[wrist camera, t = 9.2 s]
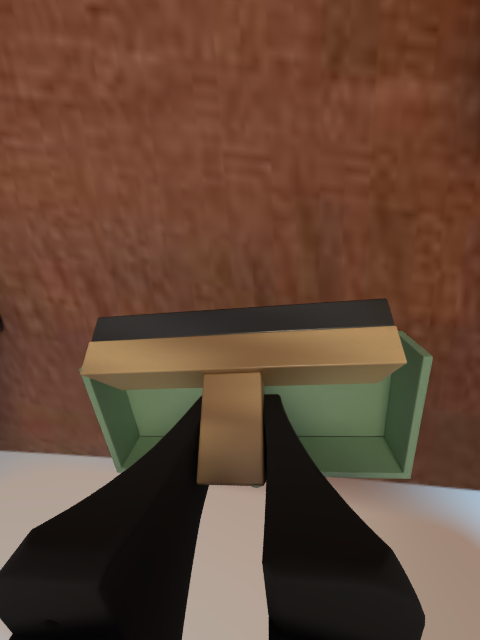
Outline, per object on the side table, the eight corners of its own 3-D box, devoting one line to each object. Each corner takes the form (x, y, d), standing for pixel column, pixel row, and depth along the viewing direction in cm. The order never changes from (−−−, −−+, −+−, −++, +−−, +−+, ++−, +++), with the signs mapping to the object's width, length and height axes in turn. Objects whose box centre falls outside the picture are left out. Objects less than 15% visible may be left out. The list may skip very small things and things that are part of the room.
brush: (131, 341, 14) (103, 474, 11) (96, 315, 11) (47, 482, 8) (365, 328, 12) (400, 480, 10) (388, 296, 10) (446, 492, 7)
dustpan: (109, 344, 16) (78, 369, 13) (402, 330, 14) (433, 356, 11) (145, 459, 19) (126, 497, 17) (384, 463, 17) (405, 507, 14)
